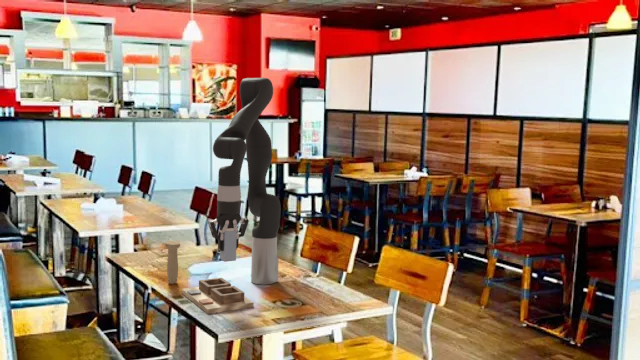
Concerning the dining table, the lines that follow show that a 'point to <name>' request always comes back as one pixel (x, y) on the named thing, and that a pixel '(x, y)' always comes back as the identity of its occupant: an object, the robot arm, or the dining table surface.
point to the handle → (172, 261)
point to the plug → (229, 246)
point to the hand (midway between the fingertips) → (228, 250)
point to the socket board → (217, 296)
